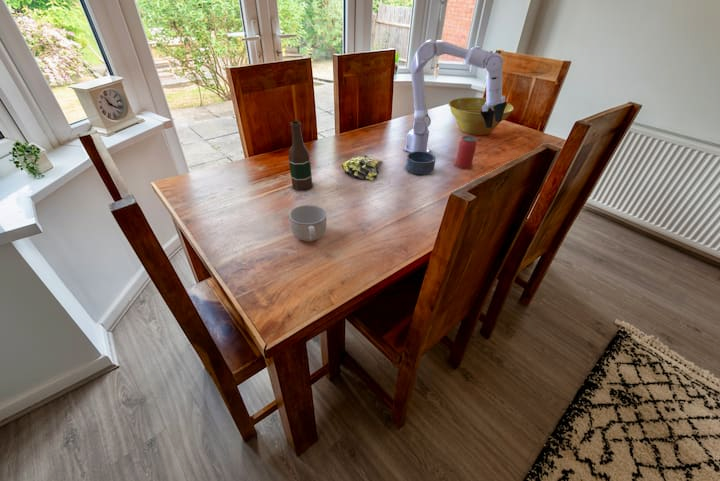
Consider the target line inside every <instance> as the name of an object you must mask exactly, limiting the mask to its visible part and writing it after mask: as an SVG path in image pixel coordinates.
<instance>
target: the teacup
mask: <svg viewBox="0 0 720 481" xmlns="http://www.w3.org/2000/svg"><path fill="white" fill-rule="evenodd" d="M327 216H328V213H327V210H326V209H325V208H323V207H322V206H319V205H315V204H303V205H298V206H296V207H294V208H292V209H291V210H290V211H289V213H288V217H289V224H290V230H291V233H292V235H293V237H296V238H297V239H298V240H301V241H303V242H314V241H315V242H316V240H318V239H321V238H322V237H323V236H324V235H325V233H326V230H327Z"/></svg>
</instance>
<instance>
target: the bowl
mask: <svg viewBox="0 0 720 481" xmlns="http://www.w3.org/2000/svg"><path fill="white" fill-rule="evenodd" d="M436 160H437V159H436V155H434V154H433V153H431V152H422V151H416V152H408V153H407V154H406V160H405V169H406V171H408V172H409V173H412V174H415V175H429V174H431V173H433V172H434V171H435V166H436Z"/></svg>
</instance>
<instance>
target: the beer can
mask: <svg viewBox="0 0 720 481" xmlns="http://www.w3.org/2000/svg"><path fill="white" fill-rule="evenodd" d="M476 147H477V138H476V137H474V136H471V135H464V136H462V137H461V139H460V141H459V145H458V148H457V150H458V151H457V154H456V160H455V167H457V168H459V169H462V170H464V169H465V170H467V169H470V168H471V167H472V166H473V165H472V164H473V160H474V156H475V153H476Z"/></svg>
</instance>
